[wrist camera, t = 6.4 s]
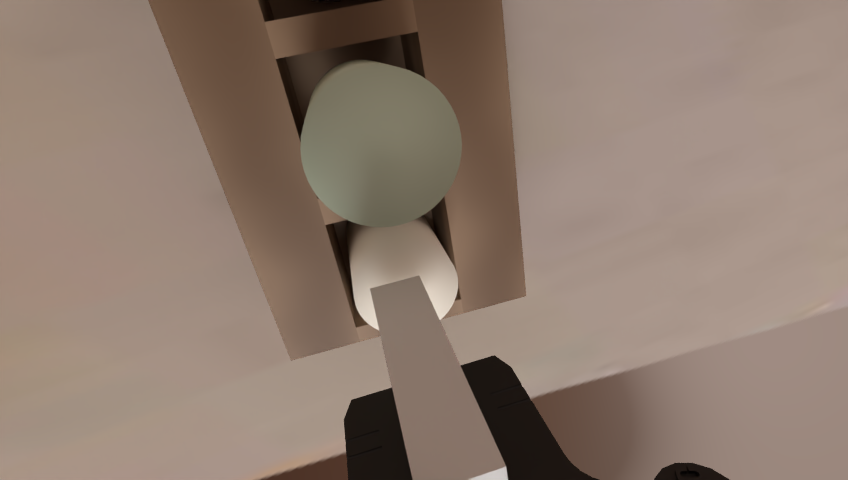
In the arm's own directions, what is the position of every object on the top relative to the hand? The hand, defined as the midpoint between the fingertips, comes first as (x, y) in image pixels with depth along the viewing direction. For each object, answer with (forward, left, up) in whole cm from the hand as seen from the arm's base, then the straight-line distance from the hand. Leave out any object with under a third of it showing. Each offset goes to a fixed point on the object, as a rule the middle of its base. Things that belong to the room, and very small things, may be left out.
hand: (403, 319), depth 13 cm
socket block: (0, +5, -8) cm, 9 cm away
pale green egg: (0, +5, -4) cm, 7 cm away
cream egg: (0, 0, -7) cm, 7 cm away
